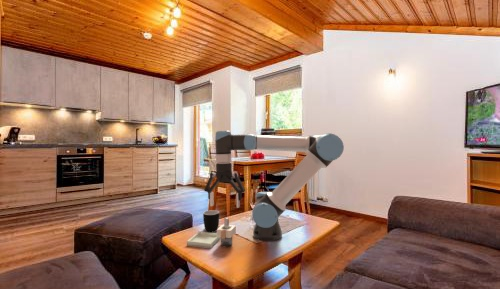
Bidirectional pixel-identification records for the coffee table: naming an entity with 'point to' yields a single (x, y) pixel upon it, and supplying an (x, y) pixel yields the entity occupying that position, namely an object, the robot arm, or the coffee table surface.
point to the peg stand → (227, 241)
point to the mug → (211, 220)
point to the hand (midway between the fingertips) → (224, 206)
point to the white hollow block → (226, 231)
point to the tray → (203, 240)
